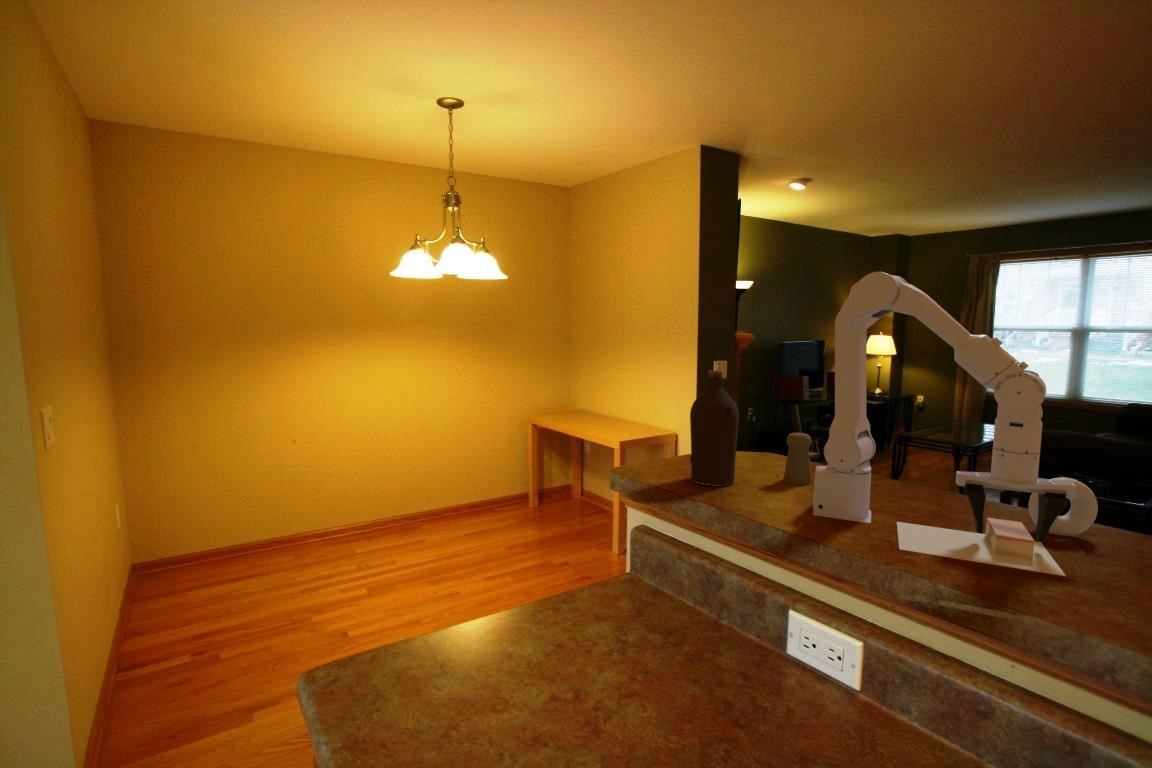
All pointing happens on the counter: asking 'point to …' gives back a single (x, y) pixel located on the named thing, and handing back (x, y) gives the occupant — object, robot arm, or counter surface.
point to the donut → (1070, 511)
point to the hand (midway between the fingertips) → (1008, 535)
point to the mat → (969, 548)
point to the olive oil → (714, 434)
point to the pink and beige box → (1009, 538)
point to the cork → (798, 459)
